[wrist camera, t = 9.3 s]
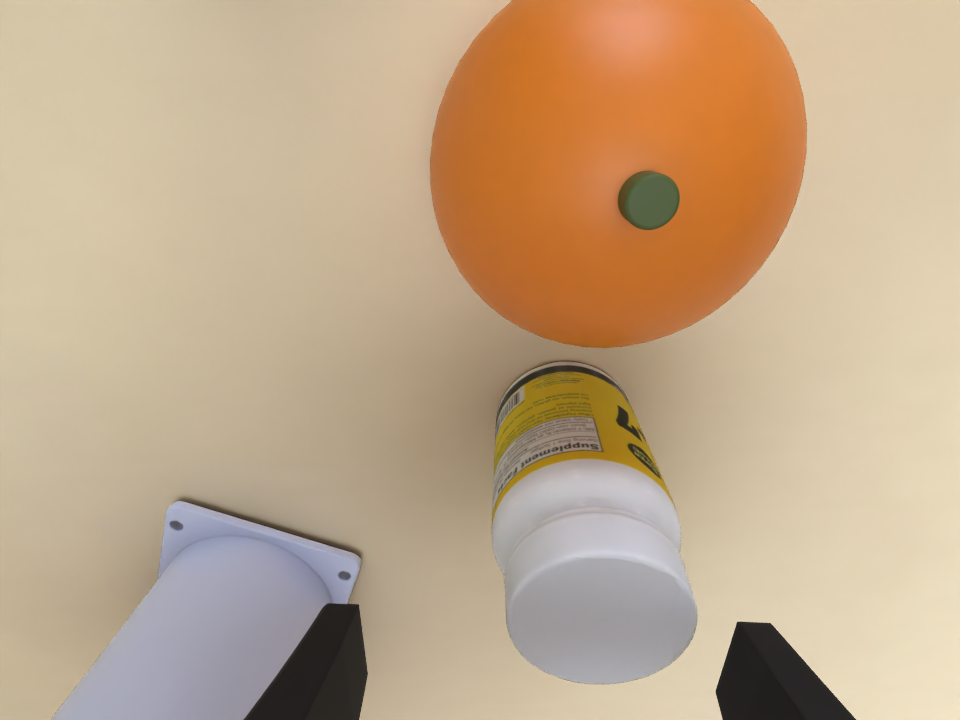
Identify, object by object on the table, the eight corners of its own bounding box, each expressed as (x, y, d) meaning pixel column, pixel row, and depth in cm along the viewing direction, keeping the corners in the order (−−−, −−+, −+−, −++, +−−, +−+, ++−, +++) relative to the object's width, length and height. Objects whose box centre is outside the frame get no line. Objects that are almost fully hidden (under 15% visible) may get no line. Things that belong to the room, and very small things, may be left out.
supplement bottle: (642, 454, 19) (734, 680, 11) (519, 484, 20) (526, 714, 12) (612, 339, 17) (697, 516, 9) (478, 378, 18) (455, 569, 10)
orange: (638, 323, 17) (741, 480, 9) (416, 240, 16) (338, 341, 9) (772, 72, 14) (1085, 13, 6) (505, -46, 13) (502, -273, 5)
